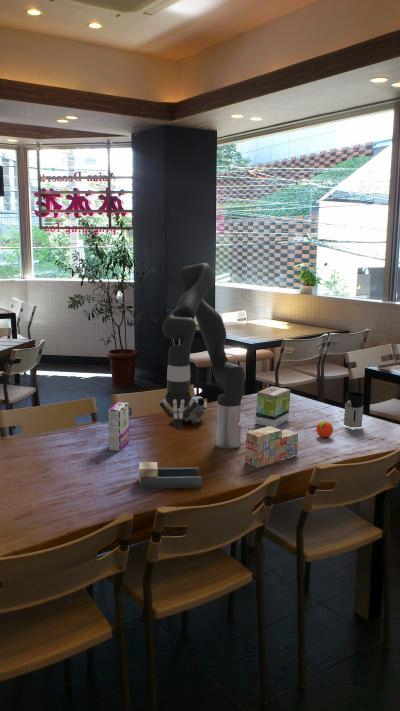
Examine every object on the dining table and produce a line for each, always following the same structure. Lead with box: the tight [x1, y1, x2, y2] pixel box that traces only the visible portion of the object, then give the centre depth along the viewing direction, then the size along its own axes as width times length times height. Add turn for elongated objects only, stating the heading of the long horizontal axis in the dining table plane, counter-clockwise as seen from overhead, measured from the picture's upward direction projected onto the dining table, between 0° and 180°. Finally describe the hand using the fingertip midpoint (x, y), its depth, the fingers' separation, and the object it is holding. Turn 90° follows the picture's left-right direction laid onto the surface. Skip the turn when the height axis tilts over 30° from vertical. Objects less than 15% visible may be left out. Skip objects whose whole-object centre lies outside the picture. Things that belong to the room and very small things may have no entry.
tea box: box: [254, 386, 291, 428], centre depth 273 cm, size 15×10×15 cm, turn 148°
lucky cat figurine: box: [171, 395, 208, 425], centre depth 271 cm, size 15×12×14 cm
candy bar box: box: [107, 401, 130, 452], centre depth 236 cm, size 11×5×16 cm, turn 168°
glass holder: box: [343, 391, 365, 427], centre depth 266 cm, size 9×14×15 cm, turn 148°
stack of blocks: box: [244, 426, 299, 468], centre depth 227 cm, size 21×6×12 cm, turn 128°
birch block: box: [138, 461, 159, 484], centre depth 203 cm, size 6×6×5 cm
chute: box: [139, 467, 202, 490], centre depth 204 cm, size 20×9×4 cm, turn 96°
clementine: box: [316, 420, 334, 438], centre depth 254 cm, size 8×7×7 cm
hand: (177, 428), depth 201 cm, fingers closed
